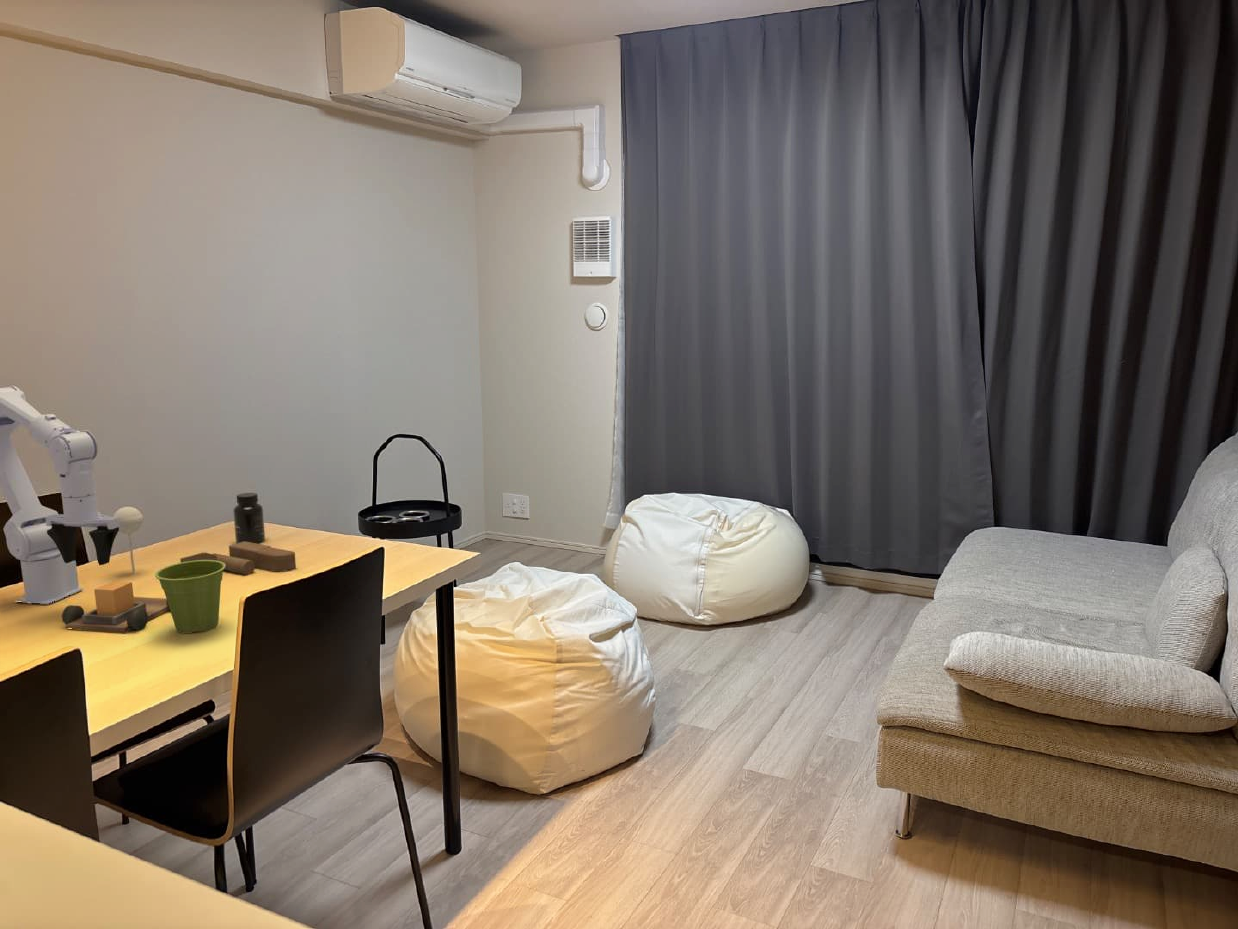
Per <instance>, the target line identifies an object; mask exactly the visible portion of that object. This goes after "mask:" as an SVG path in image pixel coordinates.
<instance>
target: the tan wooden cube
mask: <svg viewBox="0 0 1238 929" xmlns="http://www.w3.org/2000/svg"><path fill="white" fill-rule="evenodd" d="M133 587H134V586H133V582H132V581H119V580H113V581H110V582H108V583H106V584H104V585H100V586H99V587H96V588H94V597H95V598H94V599H95V600H94V601H95V608H96V609H97V615H107V616H116V615H118V614H120V613H122V612H124V611H126V610H128V609H130V608H132V607H135V605H134V597H135V596H134V588H133Z"/></svg>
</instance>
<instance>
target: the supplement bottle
mask: <svg viewBox="0 0 1238 929" xmlns="http://www.w3.org/2000/svg"><path fill="white" fill-rule="evenodd" d="M258 498H259V496H258V493H257V492H256V493H255V492H243V493H238V494H237V495H236V503H237V505H235V506H234V508H233V512H232V513H233V522H234V523H233V524H234V534H235V536H234V537H235V543H236V544H237V543H240V542H244V541H245V542H251V543H256V544H261V543H263V542H264V541H265V539H266V533H265V520H264V509H263V506H262V505H261V504H260V503H258V502H259V499H258Z"/></svg>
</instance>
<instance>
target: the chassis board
mask: <svg viewBox="0 0 1238 929" xmlns="http://www.w3.org/2000/svg"><path fill="white" fill-rule="evenodd" d="M134 605H135V607H132V608H130V609H128V610H126V611H124V612H122V613H120V614H118V615H116V616H107V615H97V608H96V609H93V610H91V611H89V612H87V613H85V611H84V609H83V607H82V606H81V605H71V604H70V605H67V606H66V607H65V608H64V609H63V611H62V614H61V620H62V622H63V623H64V624H65V625H66V626H67V629H68V628H72V629H81V630H80V631H83V630H88V631H87V632H100V633H102V632H103V633H113V632H118V633H117V634H126V632H127V633H129V632H131V631H133V630H143V629H144V628H145V627H146V626H147V624H148V622H150V621H152V620H154V619H156V618H157V617H159V616H162V615H164V614H165V613H167V612H169V611H170V608H169V605H168V602H167V599H166V597H165V598H162V597H147V596H146V597H145V596H134Z"/></svg>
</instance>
